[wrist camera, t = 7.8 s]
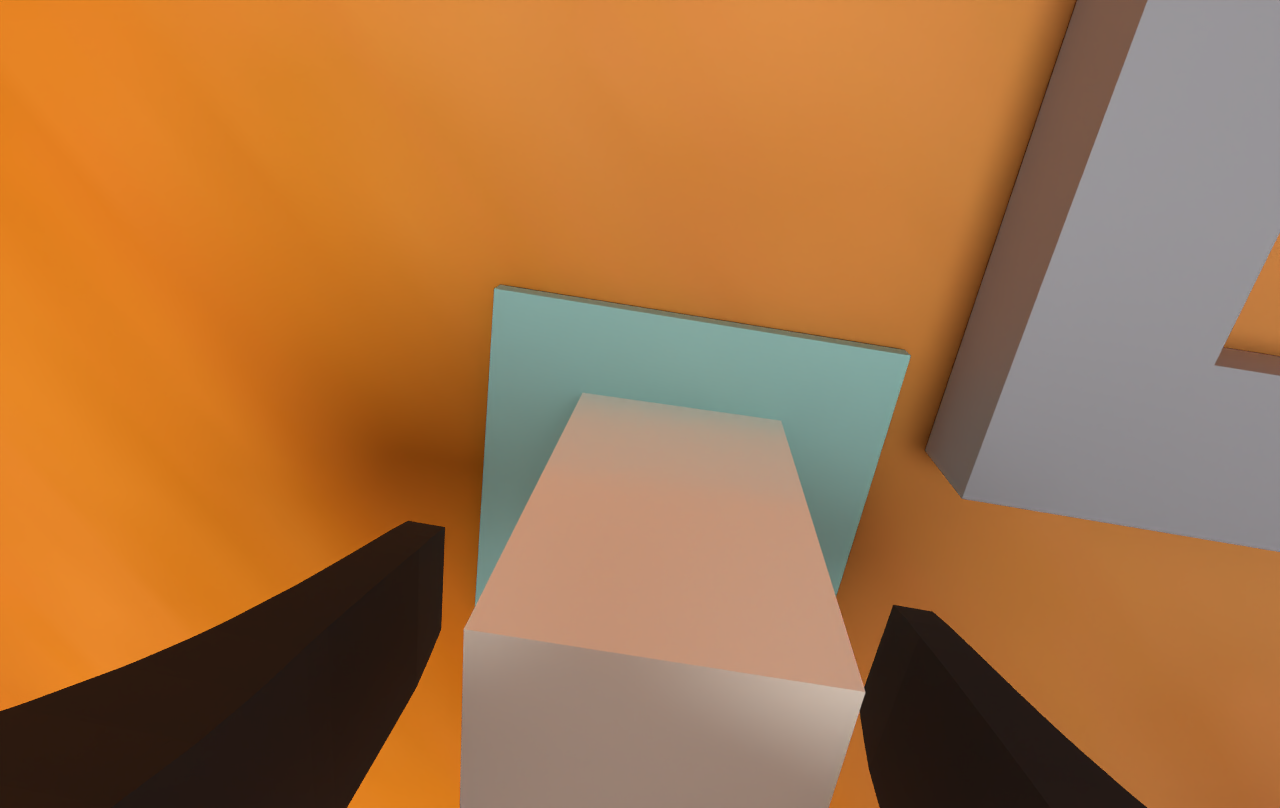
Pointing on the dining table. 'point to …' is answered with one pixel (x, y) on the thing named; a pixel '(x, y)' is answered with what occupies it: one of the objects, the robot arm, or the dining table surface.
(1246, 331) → the dining table surface
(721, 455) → the block
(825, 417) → the pad
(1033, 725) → the robot arm
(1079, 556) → the dining table surface
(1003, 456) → the pocket board
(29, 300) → the dining table surface
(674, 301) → the dining table surface
